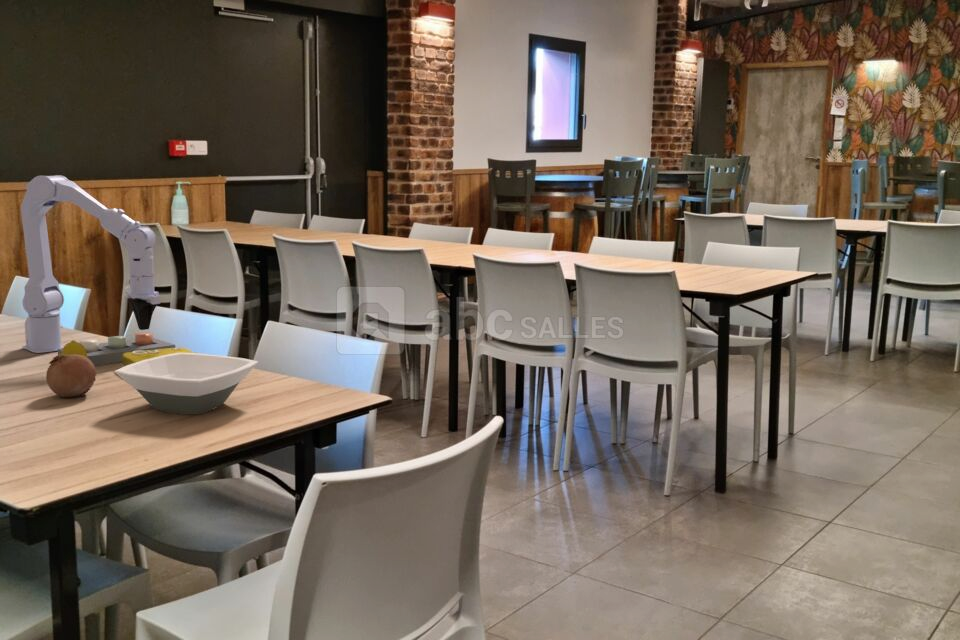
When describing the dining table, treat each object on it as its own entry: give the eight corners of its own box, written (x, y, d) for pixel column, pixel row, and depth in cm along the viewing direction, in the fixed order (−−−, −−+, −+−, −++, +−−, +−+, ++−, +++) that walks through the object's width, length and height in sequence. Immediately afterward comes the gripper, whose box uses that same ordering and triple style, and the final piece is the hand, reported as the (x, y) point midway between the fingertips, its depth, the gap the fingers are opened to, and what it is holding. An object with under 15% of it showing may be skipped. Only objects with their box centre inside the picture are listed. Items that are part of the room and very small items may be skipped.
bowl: (203, 427, 178) (202, 383, 177) (105, 413, 186) (103, 370, 184) (268, 400, 198) (268, 360, 197) (177, 388, 206) (176, 350, 205)
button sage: (105, 347, 236) (105, 337, 236) (121, 345, 239) (121, 335, 238) (112, 350, 233) (112, 339, 233) (129, 348, 236) (129, 337, 236)
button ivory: (77, 351, 231) (76, 340, 231) (94, 349, 234) (93, 338, 234) (84, 353, 228) (84, 343, 228) (101, 351, 231) (101, 341, 231)
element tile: (142, 383, 212) (141, 362, 211) (120, 371, 223) (119, 351, 222) (207, 375, 221) (206, 355, 220) (183, 363, 232) (182, 344, 231)
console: (58, 358, 232) (57, 348, 232) (151, 346, 249) (150, 337, 249) (80, 367, 223) (80, 357, 223) (175, 354, 240) (175, 344, 240)
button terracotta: (132, 344, 241) (132, 334, 240) (148, 342, 244) (148, 332, 243) (140, 346, 238) (139, 336, 238) (156, 344, 241) (155, 334, 241)
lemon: (81, 378, 213) (80, 343, 212) (57, 377, 213) (55, 342, 212) (92, 372, 219) (90, 338, 217) (68, 372, 219) (66, 337, 218)
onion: (55, 413, 196) (29, 373, 191) (70, 390, 204) (45, 351, 200) (97, 398, 195) (71, 358, 190) (110, 376, 203) (86, 337, 199)
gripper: (170, 277, 236) (172, 331, 238) (143, 271, 246) (145, 323, 248) (143, 279, 231) (145, 334, 233) (117, 273, 241) (119, 326, 243)
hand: (144, 329), depth 240 cm, fingers closed
